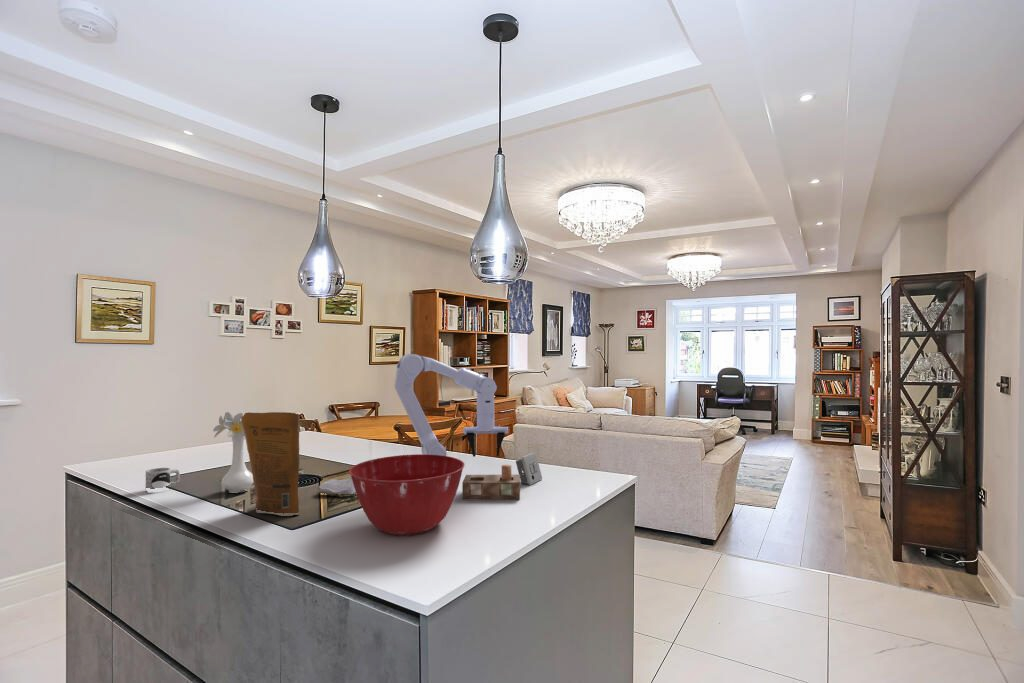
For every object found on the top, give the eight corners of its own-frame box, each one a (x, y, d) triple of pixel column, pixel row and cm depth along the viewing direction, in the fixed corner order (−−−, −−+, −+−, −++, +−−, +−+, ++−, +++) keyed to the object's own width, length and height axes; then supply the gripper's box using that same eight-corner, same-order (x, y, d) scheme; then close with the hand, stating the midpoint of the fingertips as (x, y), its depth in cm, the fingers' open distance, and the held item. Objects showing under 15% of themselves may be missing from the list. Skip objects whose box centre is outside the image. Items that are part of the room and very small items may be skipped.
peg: (501, 493, 161) (501, 466, 161) (502, 490, 164) (502, 464, 164) (511, 493, 160) (511, 466, 161) (512, 490, 163) (511, 464, 164)
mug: (152, 494, 167) (152, 473, 167) (141, 491, 171) (141, 471, 171) (185, 487, 176) (185, 467, 176) (174, 484, 179) (174, 465, 179)
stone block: (353, 503, 162) (363, 488, 172) (351, 488, 161) (362, 474, 171) (315, 504, 163) (328, 489, 172) (313, 490, 162) (326, 475, 172)
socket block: (462, 499, 158) (462, 482, 158) (466, 490, 168) (466, 474, 168) (519, 499, 157) (519, 482, 157) (520, 490, 168) (519, 474, 168)
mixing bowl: (416, 556, 115) (415, 484, 115) (323, 534, 129) (323, 470, 129) (485, 519, 140) (485, 460, 140) (401, 504, 153) (401, 450, 154)
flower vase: (246, 499, 160) (246, 416, 161) (201, 494, 167) (201, 414, 167) (278, 488, 173) (278, 411, 173) (235, 484, 179) (235, 409, 179)
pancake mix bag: (290, 521, 139) (290, 414, 140) (238, 512, 147) (238, 411, 147) (309, 513, 146) (309, 411, 146) (259, 506, 153) (258, 408, 154)
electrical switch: (530, 486, 173) (527, 457, 174) (516, 485, 176) (514, 457, 176) (542, 479, 182) (540, 452, 182) (529, 479, 184) (526, 452, 185)
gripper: (462, 415, 169) (462, 458, 169) (507, 415, 169) (507, 458, 169) (464, 413, 176) (464, 454, 176) (508, 412, 176) (508, 453, 176)
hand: (486, 455), depth 173 cm, fingers open, 7 cm apart
